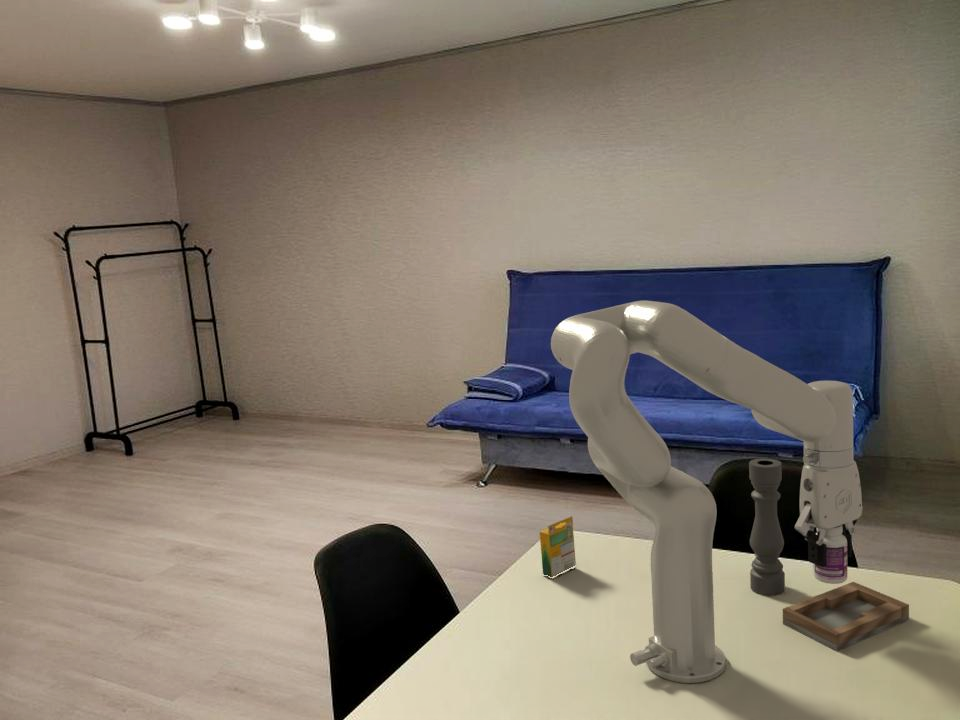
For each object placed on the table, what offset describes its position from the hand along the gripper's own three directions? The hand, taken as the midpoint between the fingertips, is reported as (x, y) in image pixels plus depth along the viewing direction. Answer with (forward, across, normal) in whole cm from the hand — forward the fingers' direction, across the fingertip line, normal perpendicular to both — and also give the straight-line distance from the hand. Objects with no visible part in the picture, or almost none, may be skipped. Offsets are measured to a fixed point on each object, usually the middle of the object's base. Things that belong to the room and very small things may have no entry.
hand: (830, 558), depth 133 cm
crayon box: (+12, -25, +47) cm, 55 cm away
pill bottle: (+4, 0, 0) cm, 4 cm away
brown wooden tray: (+13, +4, 0) cm, 13 cm away
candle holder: (+13, +3, +17) cm, 21 cm away
